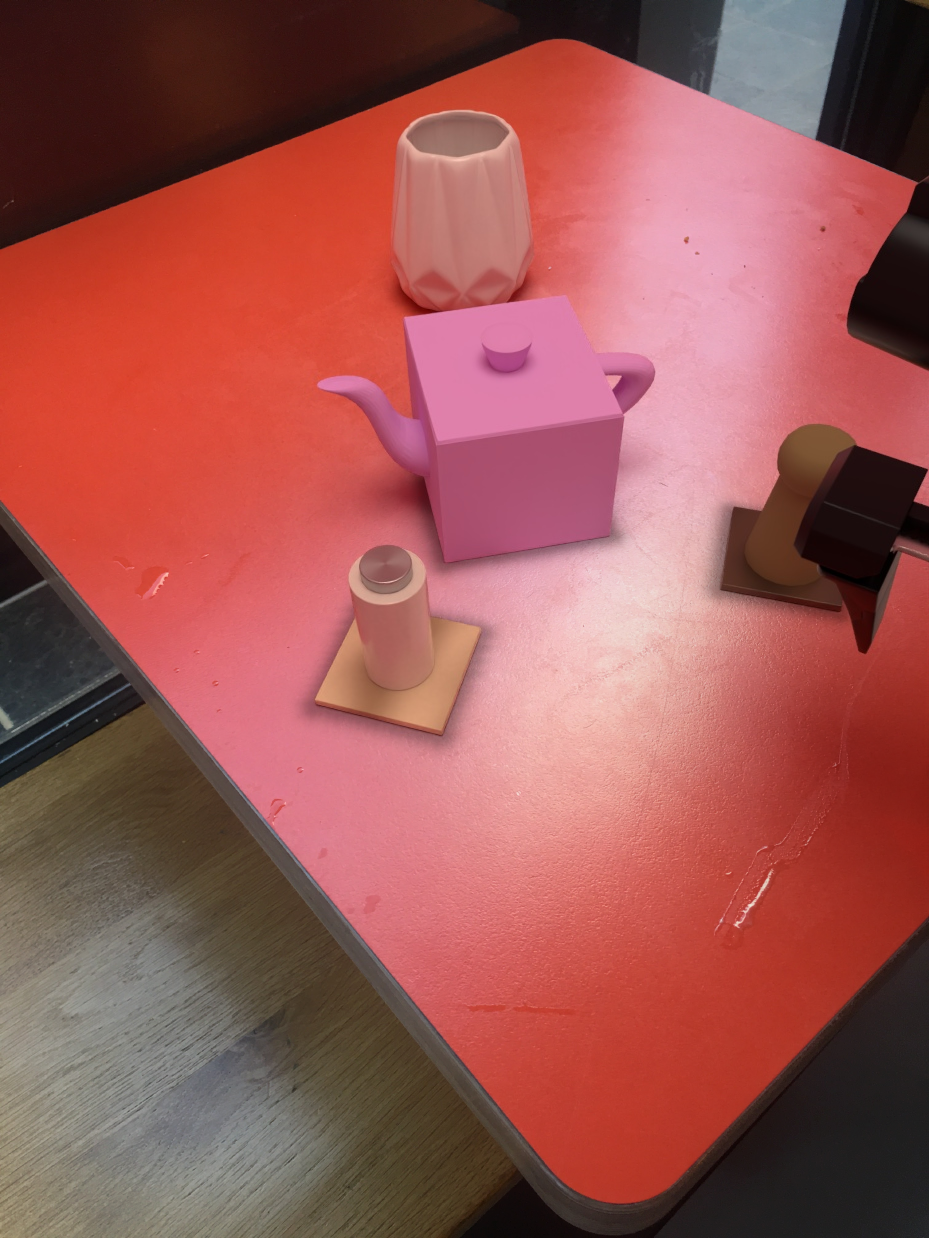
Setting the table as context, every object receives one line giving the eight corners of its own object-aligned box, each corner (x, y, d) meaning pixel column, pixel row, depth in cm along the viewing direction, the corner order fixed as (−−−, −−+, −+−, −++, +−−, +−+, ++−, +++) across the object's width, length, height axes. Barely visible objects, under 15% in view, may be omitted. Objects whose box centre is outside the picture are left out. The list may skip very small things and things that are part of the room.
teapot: (331, 449, 79) (303, 302, 68) (614, 406, 82) (630, 257, 71) (351, 578, 70) (322, 431, 59) (670, 526, 72) (699, 375, 61)
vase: (497, 238, 100) (496, 88, 89) (556, 304, 92) (564, 147, 80) (375, 270, 97) (357, 118, 86) (425, 340, 89) (413, 183, 77)
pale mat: (481, 632, 66) (481, 626, 66) (442, 735, 61) (441, 730, 60) (363, 606, 68) (362, 601, 68) (315, 704, 63) (314, 699, 62)
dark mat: (843, 530, 71) (846, 524, 71) (840, 611, 66) (842, 606, 66) (732, 511, 73) (733, 506, 72) (720, 589, 68) (721, 584, 67)
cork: (843, 552, 69) (890, 436, 60) (801, 599, 66) (844, 483, 58) (771, 515, 72) (807, 398, 63) (728, 558, 69) (759, 442, 60)
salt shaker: (448, 652, 64) (440, 553, 56) (409, 701, 62) (395, 604, 54) (391, 625, 66) (376, 525, 58) (351, 672, 63) (329, 573, 56)
